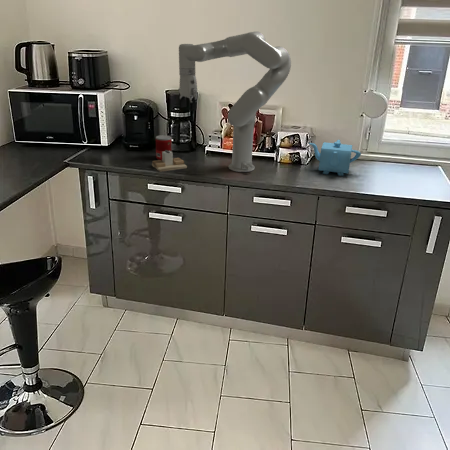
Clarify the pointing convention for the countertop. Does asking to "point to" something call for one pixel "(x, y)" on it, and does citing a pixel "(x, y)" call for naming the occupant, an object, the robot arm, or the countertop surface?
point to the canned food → (163, 145)
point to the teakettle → (335, 157)
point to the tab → (167, 157)
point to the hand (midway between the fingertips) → (188, 108)
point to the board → (176, 165)
